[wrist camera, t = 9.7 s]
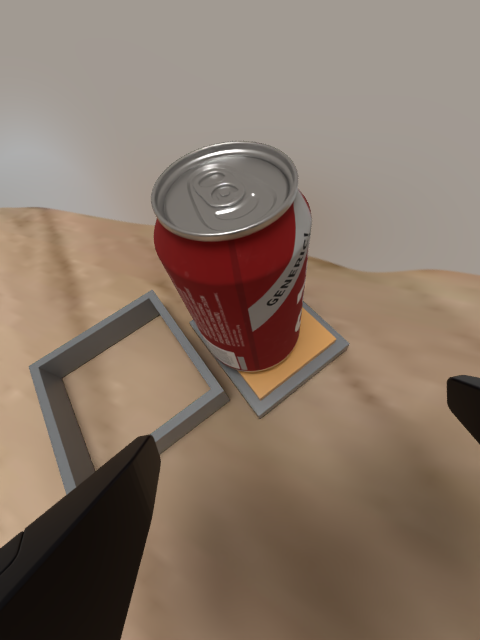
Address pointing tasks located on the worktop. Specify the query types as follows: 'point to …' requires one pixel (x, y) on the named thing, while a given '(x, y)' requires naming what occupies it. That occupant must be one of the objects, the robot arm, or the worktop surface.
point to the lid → (288, 364)
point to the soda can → (236, 248)
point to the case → (84, 348)
